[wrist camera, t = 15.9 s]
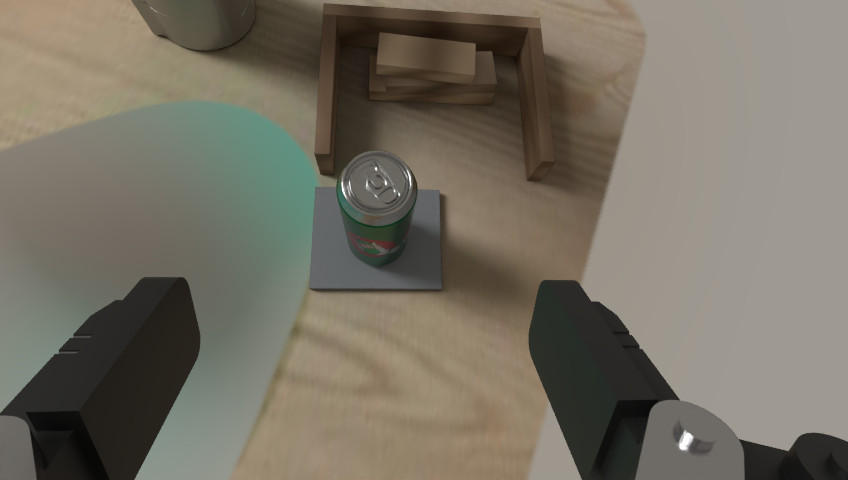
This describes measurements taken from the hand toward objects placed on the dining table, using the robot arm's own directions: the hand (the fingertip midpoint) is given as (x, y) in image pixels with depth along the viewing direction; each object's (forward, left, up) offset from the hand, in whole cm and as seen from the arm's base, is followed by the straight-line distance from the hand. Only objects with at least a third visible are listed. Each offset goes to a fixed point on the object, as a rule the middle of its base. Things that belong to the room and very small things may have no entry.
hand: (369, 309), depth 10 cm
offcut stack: (+5, +26, -27) cm, 37 cm away
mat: (0, +10, -27) cm, 28 cm away
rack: (+5, +23, -27) cm, 35 cm away
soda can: (0, +9, -26) cm, 28 cm away
